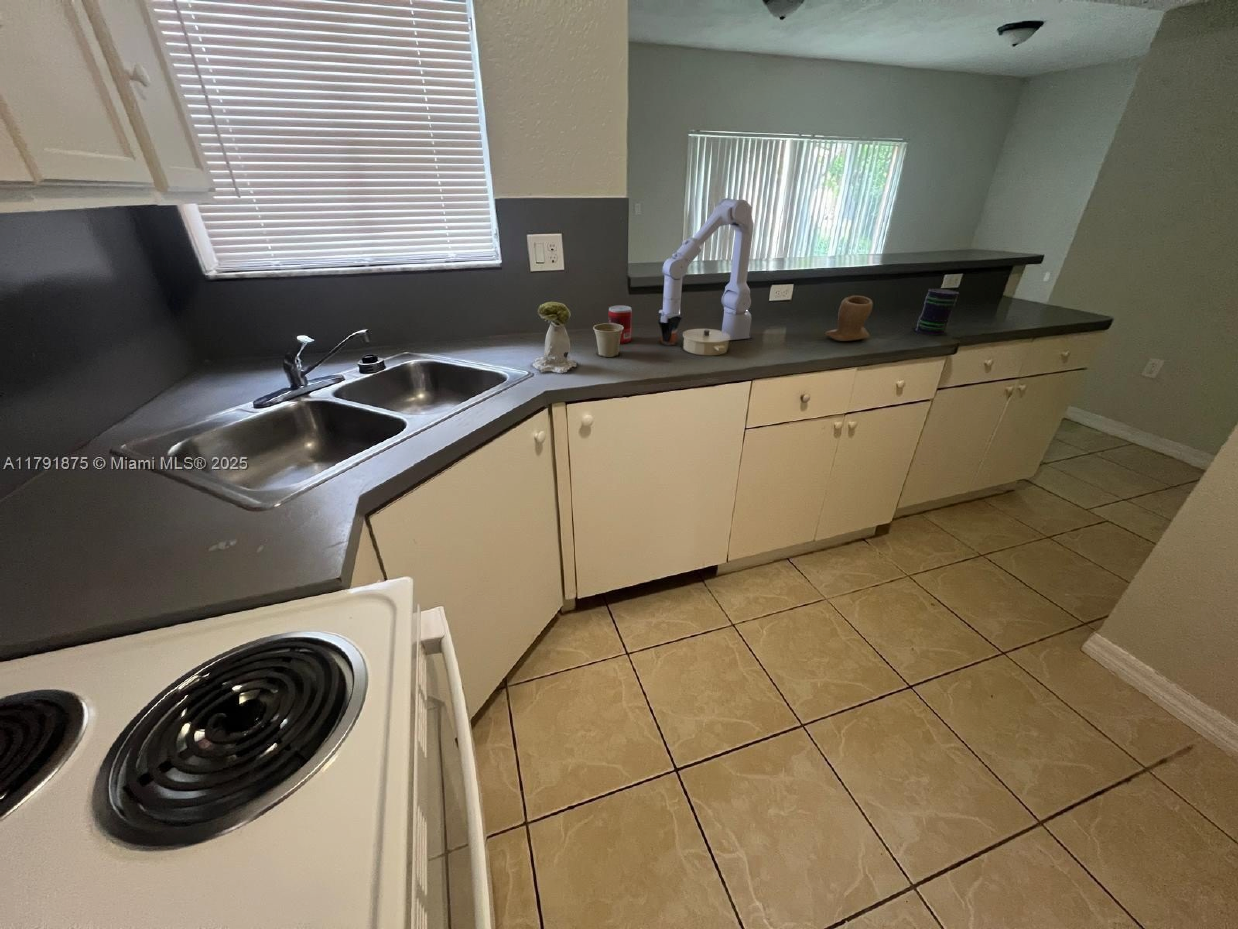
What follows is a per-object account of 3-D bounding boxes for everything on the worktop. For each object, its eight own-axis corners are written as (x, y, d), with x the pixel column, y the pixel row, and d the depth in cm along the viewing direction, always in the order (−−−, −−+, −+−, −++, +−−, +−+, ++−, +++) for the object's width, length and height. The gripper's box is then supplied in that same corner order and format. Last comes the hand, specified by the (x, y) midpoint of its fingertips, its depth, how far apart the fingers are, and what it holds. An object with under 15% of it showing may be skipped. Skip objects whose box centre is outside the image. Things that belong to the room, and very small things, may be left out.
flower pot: (601, 360, 149) (601, 332, 145) (588, 352, 156) (588, 325, 152) (628, 356, 153) (628, 329, 148) (614, 348, 160) (615, 321, 155)
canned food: (631, 337, 171) (632, 305, 165) (629, 344, 164) (630, 311, 158) (609, 336, 171) (610, 304, 166) (607, 343, 165) (607, 310, 159)
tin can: (672, 340, 169) (673, 326, 166) (678, 344, 165) (680, 329, 162) (658, 341, 167) (659, 327, 165) (665, 346, 163) (666, 331, 161)
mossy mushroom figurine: (536, 359, 149) (532, 297, 140) (578, 359, 149) (576, 298, 140) (530, 372, 139) (524, 306, 130) (575, 373, 139) (572, 307, 129)
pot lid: (714, 330, 169) (715, 322, 168) (739, 342, 156) (740, 334, 155) (674, 333, 164) (674, 326, 163) (696, 347, 151) (697, 339, 150)
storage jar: (947, 331, 186) (962, 291, 178) (941, 336, 180) (956, 294, 172) (918, 326, 192) (932, 287, 184) (912, 331, 185) (925, 290, 178)
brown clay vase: (841, 346, 167) (853, 301, 159) (820, 336, 177) (830, 293, 169) (877, 343, 171) (890, 299, 163) (854, 333, 181) (866, 292, 173)
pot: (708, 338, 172) (709, 326, 170) (740, 355, 156) (742, 343, 154) (671, 341, 168) (672, 330, 165) (700, 359, 152) (702, 347, 150)
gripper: (667, 292, 166) (664, 332, 173) (652, 300, 154) (650, 343, 161) (687, 294, 163) (683, 334, 170) (674, 303, 152) (670, 346, 159)
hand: (669, 339), depth 165 cm, fingers closed on tin can, 5 cm apart
